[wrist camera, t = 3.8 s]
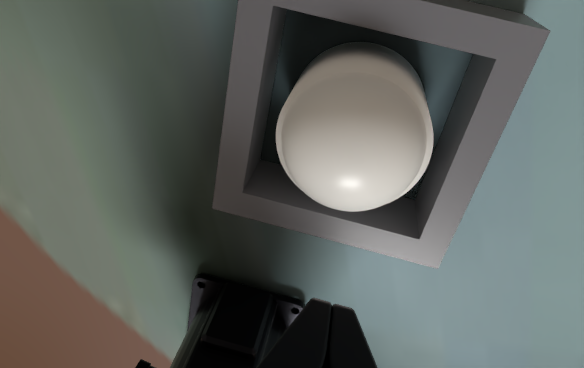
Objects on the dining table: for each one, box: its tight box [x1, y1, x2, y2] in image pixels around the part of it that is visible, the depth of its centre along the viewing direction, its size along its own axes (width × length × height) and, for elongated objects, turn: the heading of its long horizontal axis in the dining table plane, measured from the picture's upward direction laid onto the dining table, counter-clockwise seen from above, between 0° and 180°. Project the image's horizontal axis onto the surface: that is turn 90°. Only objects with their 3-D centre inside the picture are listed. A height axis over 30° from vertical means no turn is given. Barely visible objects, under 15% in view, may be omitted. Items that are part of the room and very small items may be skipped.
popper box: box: [212, 0, 550, 269], centre depth 19 cm, size 10×10×3 cm
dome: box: [276, 42, 433, 212], centre depth 17 cm, size 6×6×6 cm
